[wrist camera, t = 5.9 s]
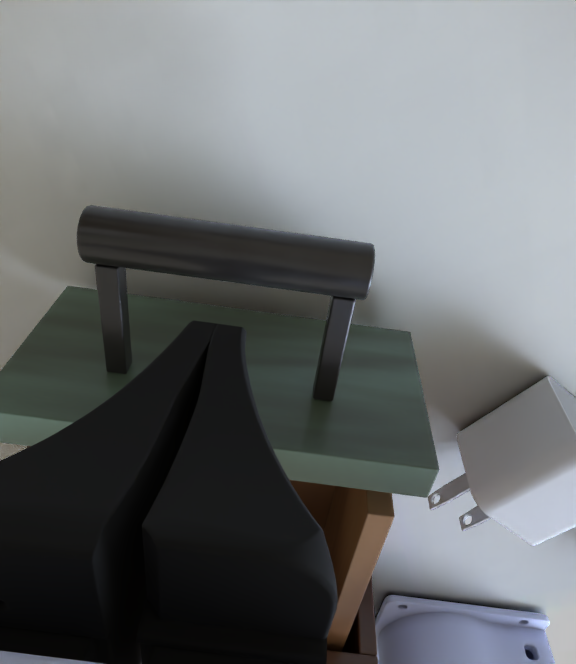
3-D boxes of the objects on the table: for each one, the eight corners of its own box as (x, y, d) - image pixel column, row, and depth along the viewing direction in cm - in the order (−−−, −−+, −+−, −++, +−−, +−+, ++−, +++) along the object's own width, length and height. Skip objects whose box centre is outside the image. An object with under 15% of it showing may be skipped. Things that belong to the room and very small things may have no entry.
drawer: (46, 144, 16) (-88, 233, 11) (451, 200, 16) (508, 314, 11) (101, 514, 26) (47, 647, 21) (343, 545, 27) (346, 683, 22)
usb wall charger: (601, 420, 22) (648, 502, 18) (465, 496, 25) (486, 577, 22) (542, 369, 20) (582, 447, 17) (407, 456, 24) (420, 536, 20)
